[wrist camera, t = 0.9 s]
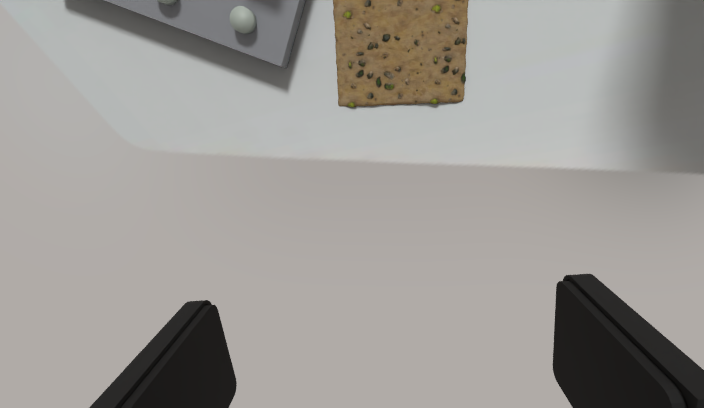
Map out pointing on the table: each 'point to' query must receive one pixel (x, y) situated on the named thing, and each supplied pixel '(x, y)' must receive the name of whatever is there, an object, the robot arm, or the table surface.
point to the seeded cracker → (400, 51)
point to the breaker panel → (231, 22)
